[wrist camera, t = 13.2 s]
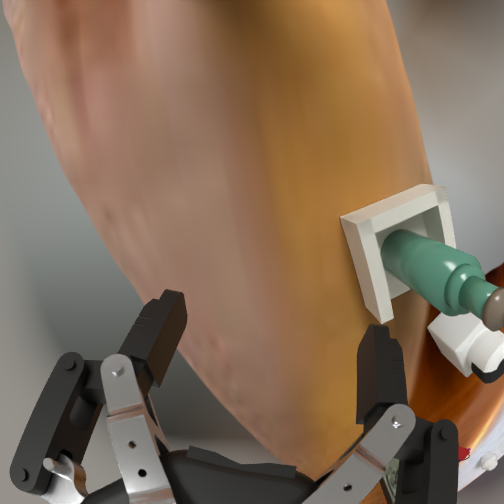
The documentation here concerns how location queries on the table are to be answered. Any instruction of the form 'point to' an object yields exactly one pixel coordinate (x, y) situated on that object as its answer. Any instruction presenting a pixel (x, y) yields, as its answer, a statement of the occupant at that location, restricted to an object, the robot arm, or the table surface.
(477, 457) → the table surface
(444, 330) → the medicine bottle
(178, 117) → the table surface
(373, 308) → the cream U-rest
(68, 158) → the table surface
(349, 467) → the robot arm
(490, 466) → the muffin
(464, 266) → the green bottle
